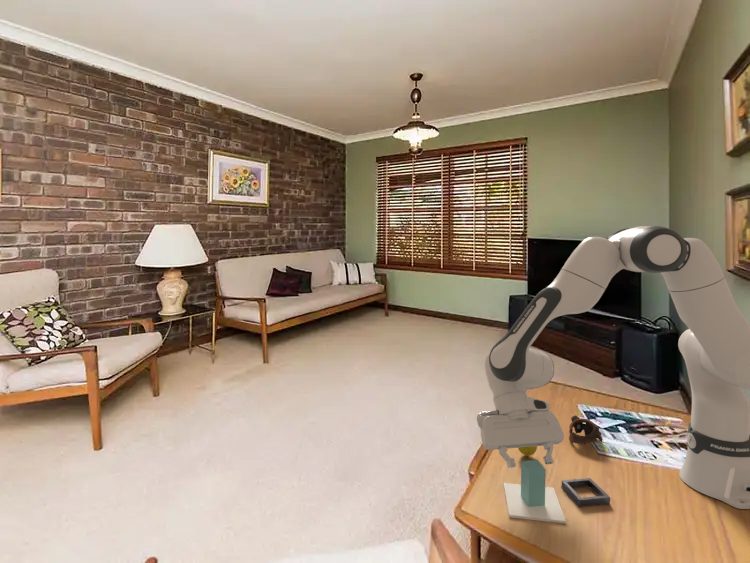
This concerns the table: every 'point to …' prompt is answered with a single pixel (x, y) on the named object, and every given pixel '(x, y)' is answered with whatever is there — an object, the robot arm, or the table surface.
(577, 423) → the pottery mug
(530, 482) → the teal block
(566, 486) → the metal cradle
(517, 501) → the white mat
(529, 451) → the lemon
